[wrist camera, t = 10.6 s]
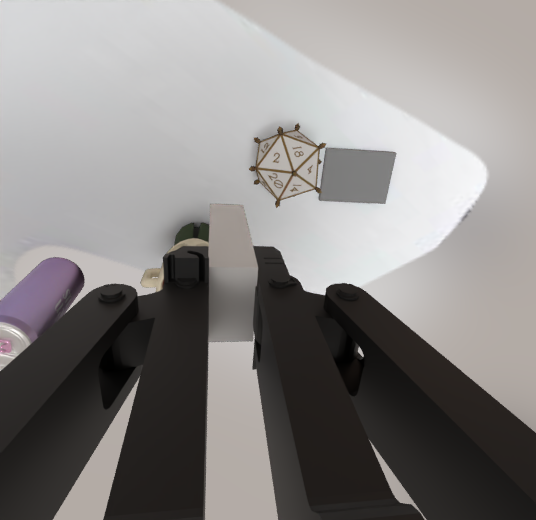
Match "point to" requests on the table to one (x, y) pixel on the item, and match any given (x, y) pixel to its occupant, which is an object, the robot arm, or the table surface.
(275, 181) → the game die
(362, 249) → the table surface
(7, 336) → the beverage can
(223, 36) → the table surface
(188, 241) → the character mug
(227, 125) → the table surface
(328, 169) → the grey rubber mat
